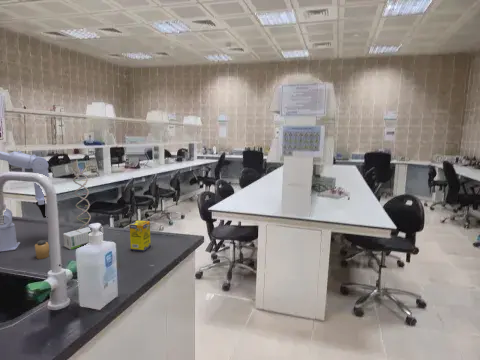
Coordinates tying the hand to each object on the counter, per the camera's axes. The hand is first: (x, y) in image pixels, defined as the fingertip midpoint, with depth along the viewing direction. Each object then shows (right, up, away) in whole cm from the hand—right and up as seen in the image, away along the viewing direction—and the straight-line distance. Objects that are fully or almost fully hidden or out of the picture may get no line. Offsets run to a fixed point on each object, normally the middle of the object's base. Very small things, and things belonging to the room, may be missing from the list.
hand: (46, 217), depth 133 cm
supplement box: (+42, -12, -6) cm, 44 cm away
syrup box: (+12, -9, -7) cm, 17 cm away
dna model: (+9, -8, +14) cm, 19 cm away
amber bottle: (+8, -13, -14) cm, 21 cm away
